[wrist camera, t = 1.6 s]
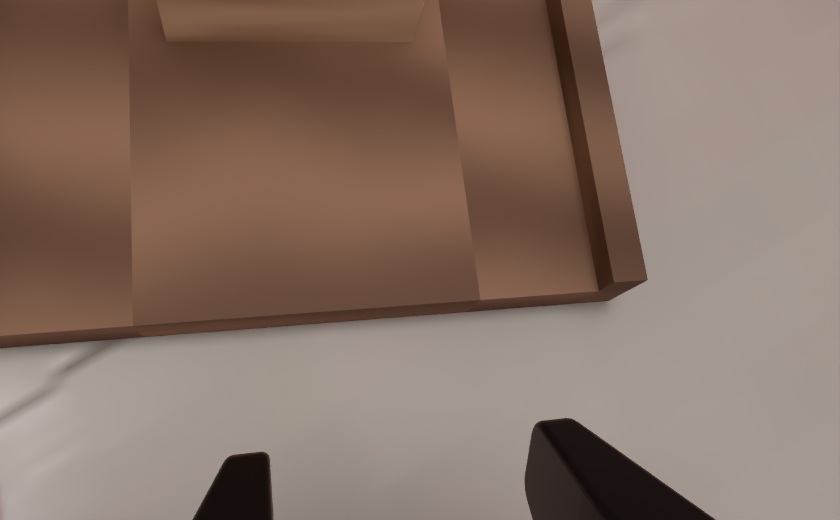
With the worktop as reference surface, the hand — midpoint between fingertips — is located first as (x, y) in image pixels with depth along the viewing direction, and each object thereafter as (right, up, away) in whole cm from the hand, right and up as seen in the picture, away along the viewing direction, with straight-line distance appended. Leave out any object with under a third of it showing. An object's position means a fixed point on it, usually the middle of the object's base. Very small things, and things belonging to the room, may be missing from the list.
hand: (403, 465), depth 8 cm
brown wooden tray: (-4, +13, +16) cm, 21 cm away
